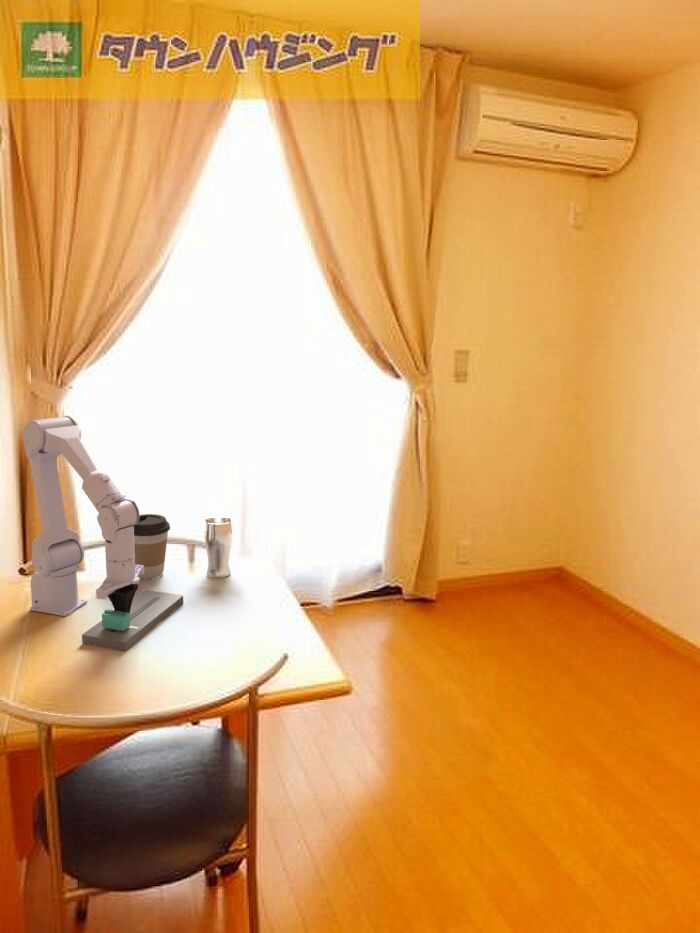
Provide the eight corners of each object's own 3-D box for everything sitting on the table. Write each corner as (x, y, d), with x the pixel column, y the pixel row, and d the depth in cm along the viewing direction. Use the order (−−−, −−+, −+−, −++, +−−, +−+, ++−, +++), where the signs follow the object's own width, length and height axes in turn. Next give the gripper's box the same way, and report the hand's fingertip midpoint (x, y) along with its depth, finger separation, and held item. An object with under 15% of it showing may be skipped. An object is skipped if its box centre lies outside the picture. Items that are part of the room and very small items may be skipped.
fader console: (82, 643, 135) (81, 634, 135) (145, 597, 158) (145, 589, 157) (125, 651, 133) (124, 641, 132) (183, 603, 155) (183, 595, 155)
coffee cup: (142, 563, 179) (140, 510, 175) (179, 569, 176) (178, 515, 172) (116, 578, 168) (114, 522, 165) (155, 585, 165) (154, 528, 161)
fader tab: (102, 627, 137) (101, 612, 136) (109, 622, 139) (108, 607, 139) (123, 631, 136) (123, 615, 135) (130, 625, 138) (129, 611, 138)
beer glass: (210, 568, 177) (210, 515, 174) (235, 570, 176) (235, 517, 173) (201, 578, 170) (200, 523, 167) (227, 580, 170) (226, 525, 166)
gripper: (116, 572, 129) (119, 635, 132) (155, 548, 143) (157, 606, 146) (85, 567, 131) (89, 630, 134) (127, 544, 144) (129, 601, 147)
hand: (122, 617), depth 140 cm, fingers closed
